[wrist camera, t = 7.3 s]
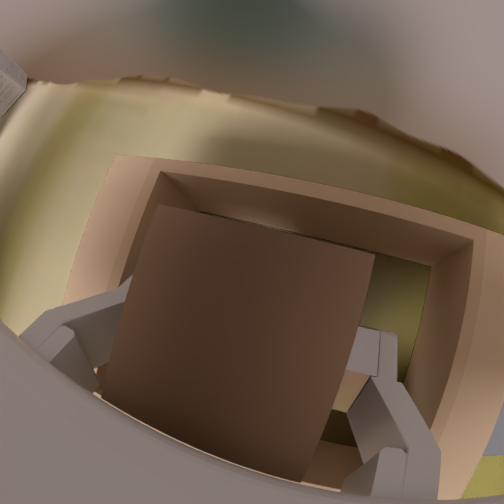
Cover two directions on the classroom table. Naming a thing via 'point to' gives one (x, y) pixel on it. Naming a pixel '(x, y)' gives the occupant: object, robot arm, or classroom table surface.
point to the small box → (10, 83)
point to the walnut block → (237, 338)
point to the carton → (350, 233)
